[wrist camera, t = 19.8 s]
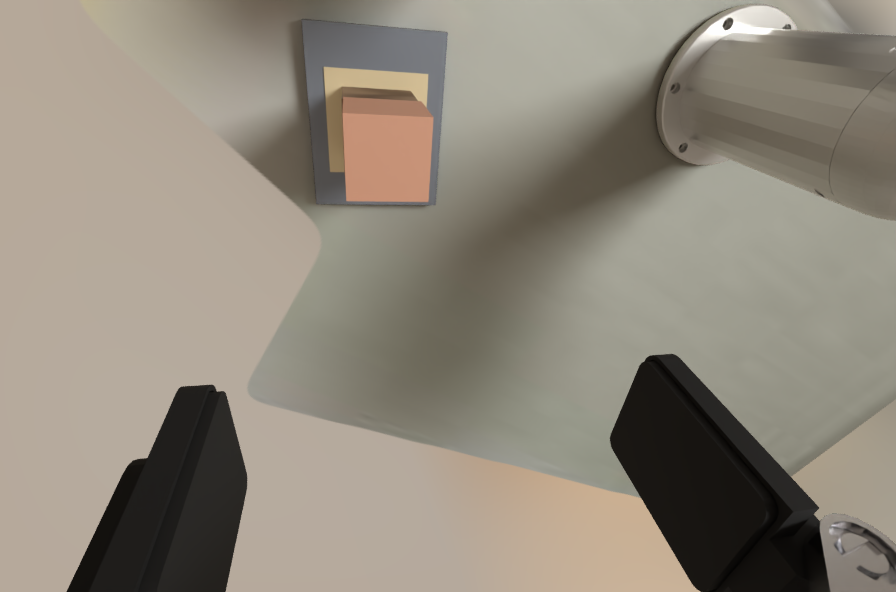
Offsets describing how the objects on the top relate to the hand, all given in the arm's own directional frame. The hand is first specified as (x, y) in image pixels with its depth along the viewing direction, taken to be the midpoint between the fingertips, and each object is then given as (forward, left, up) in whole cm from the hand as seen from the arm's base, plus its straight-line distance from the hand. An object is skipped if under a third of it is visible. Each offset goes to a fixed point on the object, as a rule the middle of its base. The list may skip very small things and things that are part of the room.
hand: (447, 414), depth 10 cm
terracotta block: (0, 0, -24) cm, 24 cm away
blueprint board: (0, 0, -30) cm, 30 cm away
